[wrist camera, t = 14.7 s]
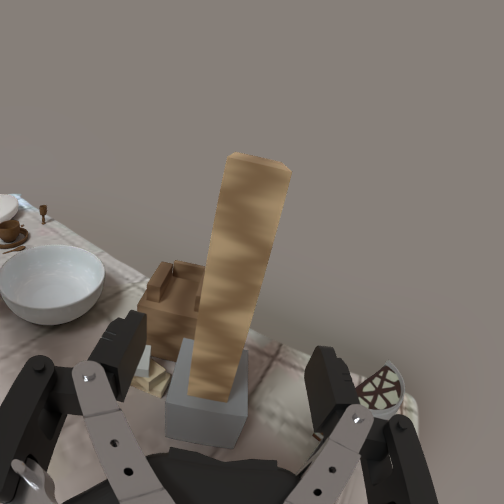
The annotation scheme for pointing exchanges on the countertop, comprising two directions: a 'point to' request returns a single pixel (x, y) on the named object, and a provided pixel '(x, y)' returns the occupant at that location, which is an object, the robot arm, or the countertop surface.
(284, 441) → the countertop surface
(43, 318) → the serving bowl
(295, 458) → the countertop surface
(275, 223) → the oak board
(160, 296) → the walnut rack
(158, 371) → the pine offcut
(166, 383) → the pine offcut
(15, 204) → the plate
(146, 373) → the grey painted offcut
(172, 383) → the slate block
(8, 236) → the place setting
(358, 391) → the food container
